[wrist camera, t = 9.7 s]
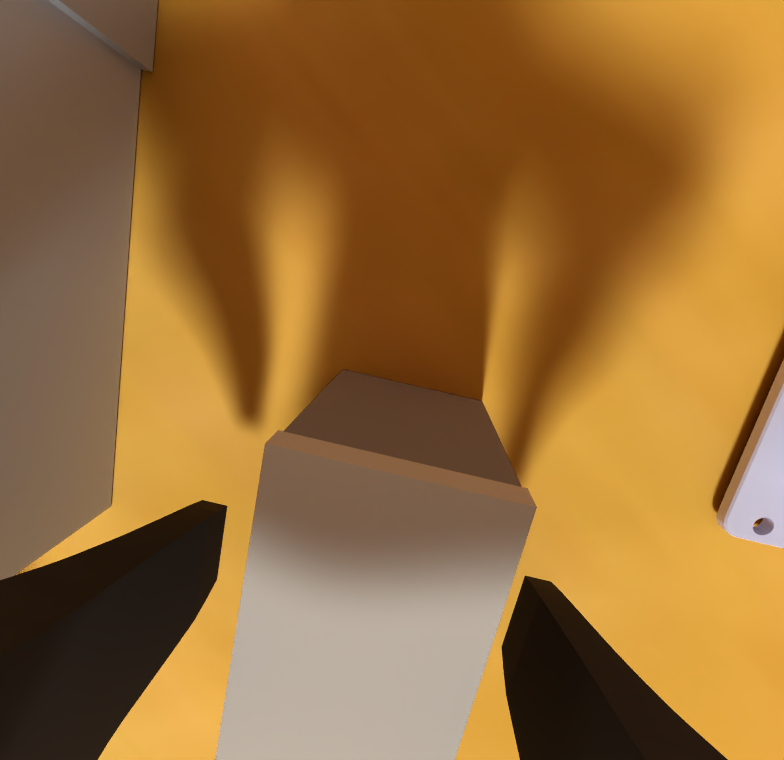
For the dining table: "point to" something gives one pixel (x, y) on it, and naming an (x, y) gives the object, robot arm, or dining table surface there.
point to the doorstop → (372, 577)
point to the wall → (63, 257)
